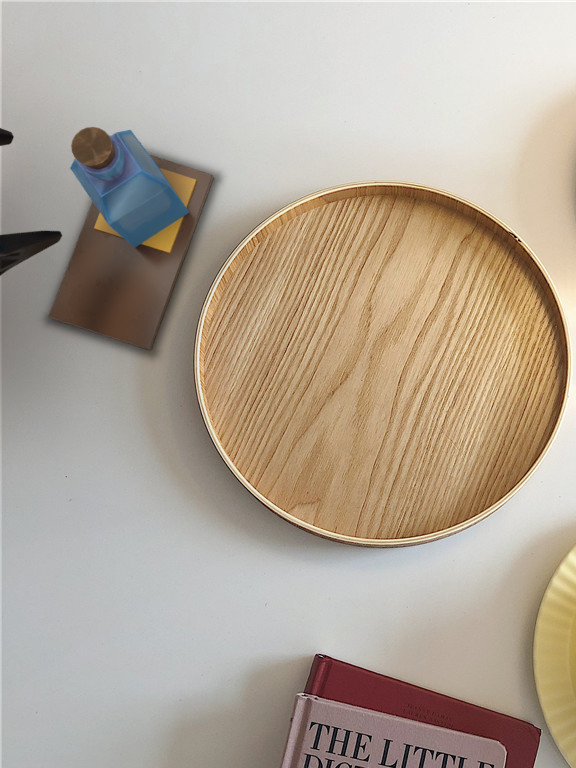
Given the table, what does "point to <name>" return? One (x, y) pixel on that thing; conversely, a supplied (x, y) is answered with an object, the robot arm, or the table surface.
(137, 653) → the table surface
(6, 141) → the robot arm
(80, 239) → the stand
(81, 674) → the table surface
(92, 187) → the perfume bottle
